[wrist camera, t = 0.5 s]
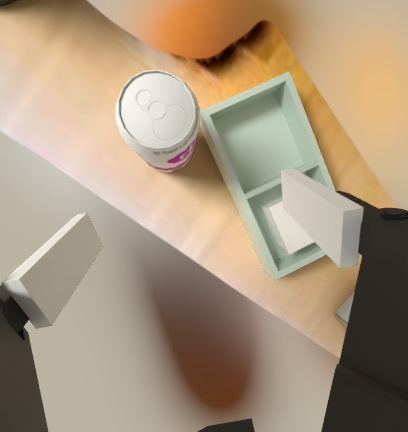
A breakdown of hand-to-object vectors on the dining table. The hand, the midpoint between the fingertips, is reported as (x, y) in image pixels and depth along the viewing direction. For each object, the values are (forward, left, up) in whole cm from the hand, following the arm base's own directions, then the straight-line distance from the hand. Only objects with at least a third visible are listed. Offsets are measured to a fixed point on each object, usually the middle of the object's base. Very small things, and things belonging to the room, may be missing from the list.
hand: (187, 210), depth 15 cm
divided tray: (+3, +14, -21) cm, 26 cm away
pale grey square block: (+9, +14, -21) cm, 27 cm away
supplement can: (-9, +1, -22) cm, 23 cm away
